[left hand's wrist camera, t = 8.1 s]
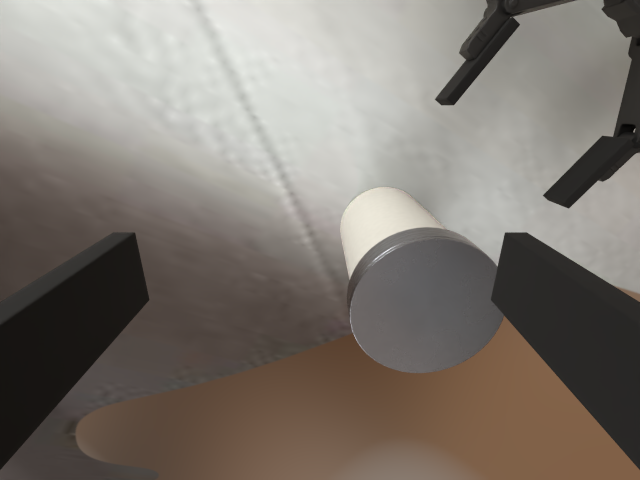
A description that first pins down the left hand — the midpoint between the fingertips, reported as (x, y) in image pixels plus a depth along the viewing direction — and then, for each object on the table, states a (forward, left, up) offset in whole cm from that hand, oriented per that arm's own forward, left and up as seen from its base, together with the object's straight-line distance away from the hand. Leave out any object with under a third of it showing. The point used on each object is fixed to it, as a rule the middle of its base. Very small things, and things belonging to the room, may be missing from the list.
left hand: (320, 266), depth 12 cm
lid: (+3, -10, -8) cm, 13 cm away
